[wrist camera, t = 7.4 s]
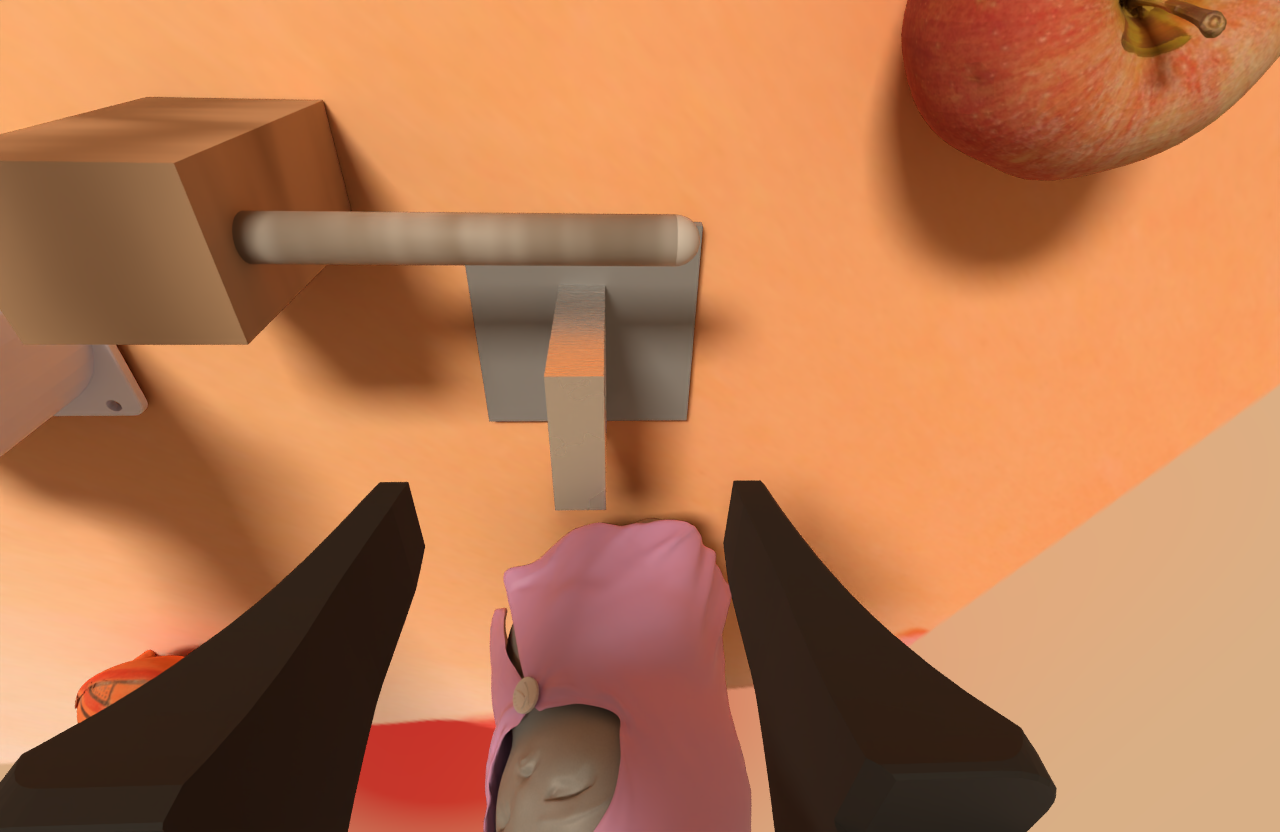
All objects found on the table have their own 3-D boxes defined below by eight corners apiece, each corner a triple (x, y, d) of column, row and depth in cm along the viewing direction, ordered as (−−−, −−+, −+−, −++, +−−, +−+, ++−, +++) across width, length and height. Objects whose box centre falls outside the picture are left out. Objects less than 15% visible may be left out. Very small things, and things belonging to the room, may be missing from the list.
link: (566, 402, 24) (555, 510, 19) (559, 284, 21) (543, 376, 16) (606, 402, 24) (605, 509, 19) (605, 284, 21) (603, 376, 16)
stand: (202, 233, 20) (23, 344, 14) (146, 97, 17) (-99, 159, 11) (673, 236, 21) (701, 344, 14) (681, 106, 18) (716, 169, 12)
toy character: (617, 421, 25) (632, 1222, 9) (763, 540, 30) (948, 1208, 14) (441, 560, 30) (240, 1258, 13) (592, 645, 34) (577, 1238, 18)
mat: (490, 415, 25) (489, 421, 24) (460, 220, 20) (458, 223, 20) (685, 414, 25) (686, 420, 25) (701, 222, 20) (702, 225, 20)
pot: (314, 684, 35) (235, 817, 30) (214, 676, 37) (125, 798, 32) (223, 607, 30) (111, 750, 25) (115, 603, 33) (-8, 733, 28)
